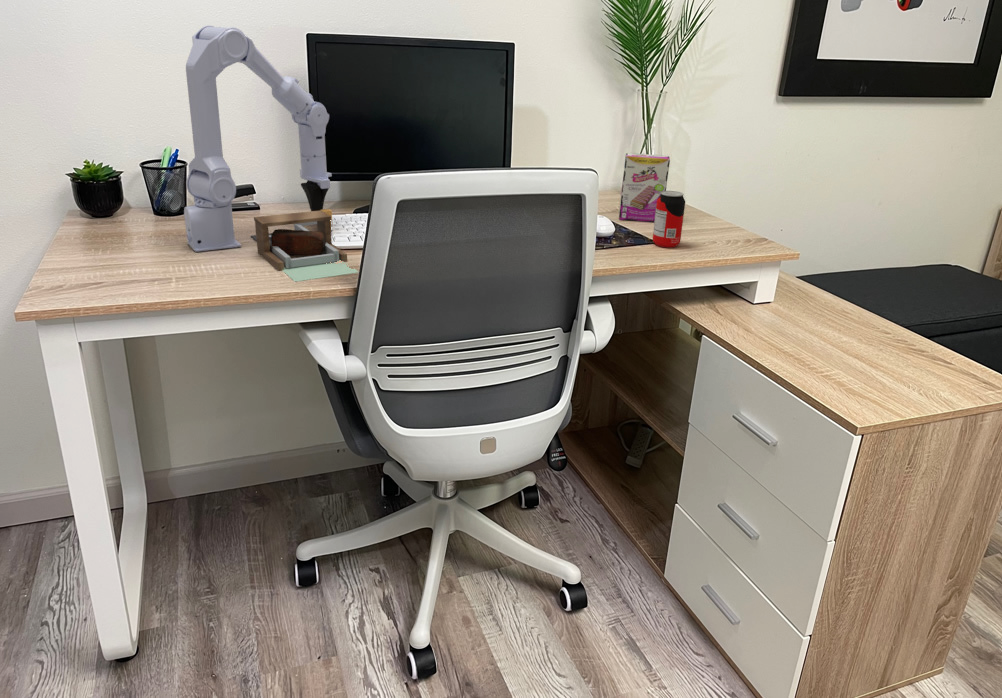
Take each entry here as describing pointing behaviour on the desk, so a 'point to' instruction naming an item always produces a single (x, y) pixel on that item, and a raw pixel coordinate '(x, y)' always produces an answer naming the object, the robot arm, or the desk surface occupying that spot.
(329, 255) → the tray
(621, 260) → the desk surface
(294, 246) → the brick
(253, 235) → the pit marker
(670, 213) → the beverage can
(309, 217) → the tunnel
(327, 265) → the mat
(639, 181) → the candy bar box
